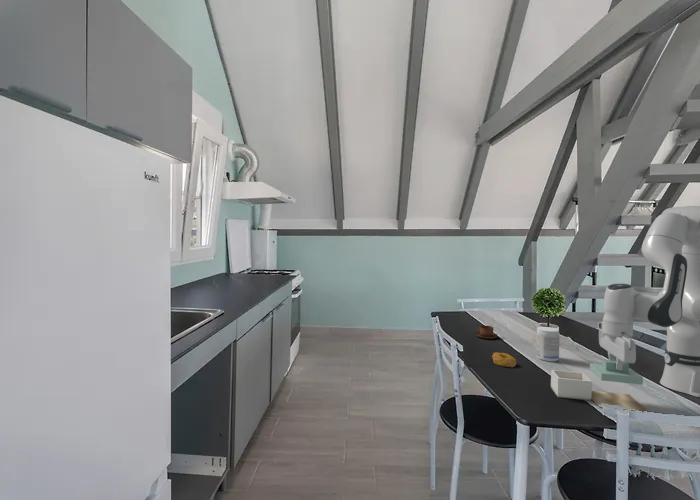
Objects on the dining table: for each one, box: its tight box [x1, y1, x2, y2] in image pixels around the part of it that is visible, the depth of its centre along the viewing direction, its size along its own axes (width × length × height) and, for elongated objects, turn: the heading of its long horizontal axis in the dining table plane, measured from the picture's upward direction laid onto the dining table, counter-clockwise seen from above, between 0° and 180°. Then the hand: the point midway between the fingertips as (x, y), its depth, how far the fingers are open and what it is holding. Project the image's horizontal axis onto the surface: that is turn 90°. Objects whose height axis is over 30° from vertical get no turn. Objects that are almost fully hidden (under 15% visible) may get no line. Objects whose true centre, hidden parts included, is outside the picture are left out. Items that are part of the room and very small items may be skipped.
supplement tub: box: [536, 326, 560, 362], centre depth 176 cm, size 10×10×15 cm
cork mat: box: [591, 390, 650, 412], centre depth 131 cm, size 15×14×1 cm
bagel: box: [491, 352, 517, 368], centre depth 169 cm, size 10×11×5 cm
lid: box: [589, 359, 644, 385], centre depth 131 cm, size 12×10×6 cm
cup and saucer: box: [475, 325, 498, 340], centre depth 214 cm, size 12×12×6 cm
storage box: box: [550, 369, 593, 401], centre depth 137 cm, size 11×9×7 cm
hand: (615, 367), depth 131 cm, fingers closed on lid, 3 cm apart
